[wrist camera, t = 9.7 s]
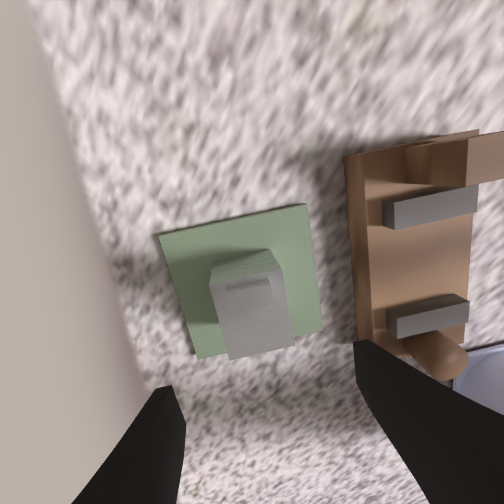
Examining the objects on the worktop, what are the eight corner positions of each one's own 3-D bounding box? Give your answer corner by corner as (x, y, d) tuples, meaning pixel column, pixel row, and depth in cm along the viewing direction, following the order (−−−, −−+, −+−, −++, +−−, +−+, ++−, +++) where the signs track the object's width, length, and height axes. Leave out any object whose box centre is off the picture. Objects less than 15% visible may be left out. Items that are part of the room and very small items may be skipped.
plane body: (437, 324, 22) (522, 384, 15) (358, 343, 21) (412, 411, 15) (443, 135, 17) (568, 112, 11) (343, 156, 17) (412, 145, 11)
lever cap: (281, 311, 19) (297, 351, 15) (229, 323, 19) (229, 367, 14) (269, 248, 17) (284, 273, 13) (212, 261, 17) (208, 290, 13)
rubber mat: (320, 326, 20) (323, 330, 20) (198, 354, 20) (198, 359, 20) (304, 203, 17) (307, 204, 17) (160, 234, 17) (158, 236, 16)
